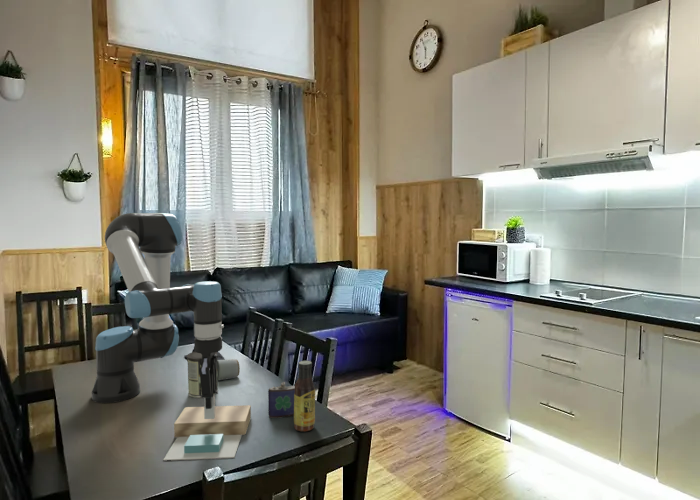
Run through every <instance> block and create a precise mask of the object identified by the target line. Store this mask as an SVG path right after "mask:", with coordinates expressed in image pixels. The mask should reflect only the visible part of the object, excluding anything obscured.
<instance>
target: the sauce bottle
mask: <svg viewBox="0 0 700 500" xmlns="http://www.w3.org/2000/svg"><path fill="white" fill-rule="evenodd" d="M297 366H298V378H297V380H296V382H295V383H294V386H295V393H294V416H293V426H294V429H295V431H298V432H303V433H304V432H309V431H312V430H313V429H314V426H315V423H316V422H315V421H316V415H315V414H316V387H315V384H314V381H313V378H312V368H313V363H312V361H310V360H302V361H299V362H298V365H297Z"/></svg>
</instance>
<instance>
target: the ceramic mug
mask: <svg viewBox="0 0 700 500" xmlns="http://www.w3.org/2000/svg"><path fill="white" fill-rule="evenodd" d="M239 375H240V362H239V360H238V359H235V358H232V359H231V358H229V359H225V360H217V381H222V380H232V379H235V378H238V377H239Z"/></svg>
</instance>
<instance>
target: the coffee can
mask: <svg viewBox="0 0 700 500" xmlns="http://www.w3.org/2000/svg"><path fill="white" fill-rule="evenodd" d="M215 354H217V352H215ZM186 355H187V358H188V359H187V358H186V359H187V380H188V381H187V382H188V383H187V384H188V386H187V387H188V388H187V389H188V393H187V395H188V396H189V397H191V398H195V399H199V398H200V399H202V398H201V395H202V392H201V381H200V373H199V367H201V365H200V359H201V358H202V354H201V353H197V352H192V351H191V352H190V353H188V354H186ZM218 383H219V382H218V381H217V383H216V386H217V388H216V389H215V391H218V392H219V389H218V388H219V386H218ZM213 395H214V394H213Z"/></svg>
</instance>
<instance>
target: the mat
mask: <svg viewBox="0 0 700 500" xmlns="http://www.w3.org/2000/svg"><path fill="white" fill-rule="evenodd" d="M242 436H243V435H223V443H222V446H221V448H220V451H219V452H205V453H184V445H185V444H186V442H187V440H188V438H189V437H190V436H188V437H176V439H175V440H174V442H173V443H172V445H171V447H170V448H169V449H168V451H167V453H166V454H165V456H164V458H163V459H162V460H163V461H165V462H166V461H167V460H171V461H190V460H191V461H192V460H214V459H216V460H217V459H218V460H219V459H234V458H236V457H235V456H236V454H237V450H238V448H239V445H240V442H241V439H242Z"/></svg>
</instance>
